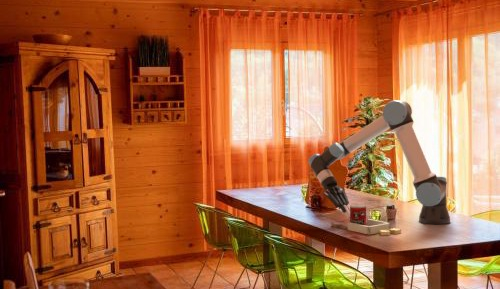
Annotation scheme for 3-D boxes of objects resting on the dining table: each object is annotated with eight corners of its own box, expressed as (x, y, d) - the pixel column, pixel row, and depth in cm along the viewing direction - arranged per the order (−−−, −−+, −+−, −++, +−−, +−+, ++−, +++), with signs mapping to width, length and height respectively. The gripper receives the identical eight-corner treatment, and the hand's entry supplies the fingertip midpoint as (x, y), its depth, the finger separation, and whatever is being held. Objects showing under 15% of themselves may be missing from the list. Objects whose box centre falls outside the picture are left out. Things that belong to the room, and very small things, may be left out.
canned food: (348, 229, 292) (348, 206, 291) (352, 225, 300) (351, 203, 299) (364, 229, 289) (364, 207, 289) (367, 226, 297) (367, 204, 296)
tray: (347, 229, 290) (347, 222, 290) (369, 225, 298) (369, 218, 298) (369, 234, 279) (369, 227, 278) (390, 230, 287) (390, 223, 287)
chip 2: (388, 233, 281) (388, 229, 281) (394, 232, 284) (393, 228, 284) (396, 234, 278) (396, 230, 278) (401, 233, 281) (401, 229, 281)
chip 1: (379, 234, 281) (379, 229, 281) (388, 234, 280) (388, 229, 280) (380, 236, 277) (380, 231, 277) (389, 236, 276) (389, 231, 276)
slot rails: (331, 225, 300) (331, 222, 300) (351, 222, 308) (351, 219, 308) (347, 229, 291) (347, 226, 291) (368, 225, 299) (368, 222, 299)
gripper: (333, 183, 317) (356, 219, 304) (314, 186, 309) (336, 223, 297) (340, 174, 312) (363, 210, 299) (321, 176, 305) (344, 214, 292)
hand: (350, 217), depth 298 cm, fingers closed
